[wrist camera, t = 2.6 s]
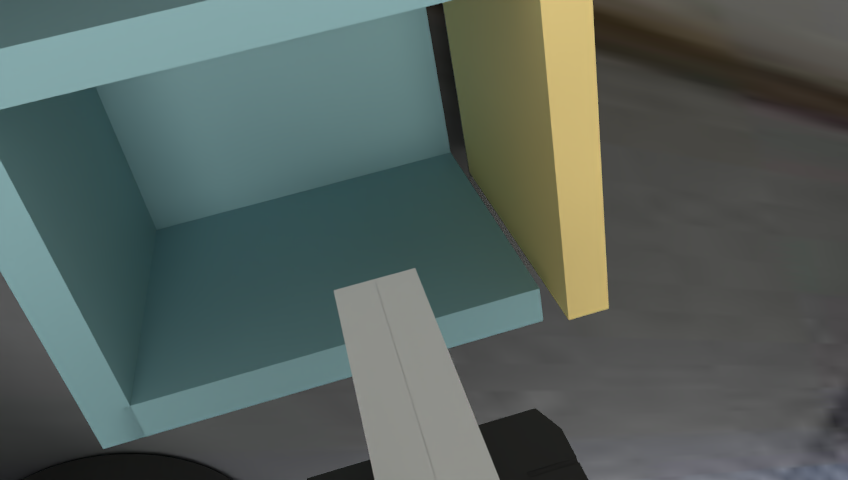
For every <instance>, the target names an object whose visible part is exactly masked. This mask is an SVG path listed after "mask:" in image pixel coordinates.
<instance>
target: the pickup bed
mask: <svg viewBox="0 0 848 480" xmlns="http://www.w3.org/2000/svg"><path fill="white" fill-rule="evenodd" d="M448 1H452V0H0V272H1V273H2V275H3V277H4V278H5V280H6V282H7V284H8V285H9V287H10V289H11V291H12V292H13V294H14V296H15V297H16V299H17V301H18V303H19V304H20V306H21V308H22V310H23V311H24V313H25V315H26V316H27V318H28V320H29V322H30V323H31V325H32V327H33V329H34V330H35V332H36V334H37V335H38V337H39V339H40V341H41V342H42V344H43V346H44V348H45V349H46V351H47V353H48V354H49V356H50V358H51V360H52V361H53V363H54V365H55V367H56V368H57V370H58V372H59V373H60V375H61V377H62V379H63V380H64V382H65V384H66V386H67V387H68V389H69V391H70V392H71V394H72V396H73V398H74V399H75V401H76V403H77V405H78V406H79V408H80V410H81V411H82V413H83V415H84V417H85V418H86V420H87V422H88V424H89V425H90V427H91V429H92V430H93V432H94V434H95V436H96V437H97V439H98V441H99V443H100V444H101V446H102V448H103V449H106V448H109V447H112V446H116V445H119V444H123V443H126V442H130V441H133V440H136V439H140V438H143V437H147V436H150V435H154V434H157V433H160V432H164V431H167V430H171V429H174V428H177V427H181V426H184V425H188V424H191V423H195V422H198V421H201V420H205V419H208V418H212V417H215V416H219V415H222V414H225V413H229V412H232V411H236V410H239V409H243V408H246V407H249V406H253V405H256V404H260V403H263V402H267V401H270V400H273V399H277V398H280V397H284V396H287V395H290V394H294V393H297V392H301V391H304V390H308V389H311V388H314V387H318V386H321V385H325V384H328V383H332V382H335V381H338V380H342V379H345V378H349V377H352V373H351V369H350V364H349V359H348V355H347V350H346V345H345V341H344V336H343V332H342V327H341V322H340V318H339V313H338V309H337V304H336V299H335V295H334V290H337V289H340V288H344V287H348V286H351V285H355V284H359V283H362V282H366V281H369V280H373V279H377V278H380V277H384V276H388V275H391V274H395V273H399V272H402V271H406V270H410V269H413V268H415V269H416V271H417V274H418V276H419V279H420V281H421V284H422V286H423V289H424V291H425V294H426V296H427V299H428V301H429V304H430V306H431V309H432V311H433V314H434V316H435V319H436V321H437V324H438V326H439V329H440V331H441V334H442V336H443V339H444V341H445V344H446V346H447V349H448V348H451V347H455V346H458V345H462V344H465V343H469V342H472V341H475V340H479V339H482V338H486V337H489V336H492V335H496V334H499V333H503V332H506V331H510V330H513V329H516V328H520V327H523V326H527V325H530V324H534V323H537V322H540V321H543V315H542V306H541V297H540V288H539V287H538V285H537V284H536V282H535V281H534V279H533V278H532V276H531V275H530V273H529V272H528V270H527V269H526V267H525V265H524V264H523V262H522V261H521V259H520V258H519V256H518V255H517V253H516V252H515V250H514V249H513V247H512V246H511V244H510V243H509V241H508V239H507V238H506V236H505V235H504V233H503V232H502V230H501V229H500V227H499V226H498V224H497V223H496V221H495V220H494V218H493V217H492V215H491V214H490V212H489V210H488V209H487V207H486V206H485V204H484V203H483V201H482V200H481V198H480V197H479V195H478V194H477V192H476V191H475V189H474V188H473V186H472V184H471V183H470V181H469V180H468V178H467V177H466V175H465V174H464V172H463V171H462V169H461V168H460V166H459V165H458V163H457V162H456V160H455V159H454V157H453V155H452V154H451V152H450V146H449V141H448V135H447V129H446V123H445V117H444V111H443V105H442V100H441V94H440V88H439V82H438V76H437V70H436V64H435V58H434V53H433V47H432V41H431V35H430V29H429V23H428V17H427V12H426V7H427V6H431V5H435V4H439V3H444V2H448Z"/></svg>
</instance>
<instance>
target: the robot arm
mask: <svg viewBox="0 0 848 480" xmlns="http://www.w3.org/2000/svg"><path fill="white" fill-rule="evenodd" d="M334 295H335V299H336V304H337V309H338V313H339V318H340V322H341V327H342V332H343V336H344V341H345V345H346V350H347V355H348V359H349V364H350V369H351V373H352V378H353V382H354V387H355V392H356V396H357V401H358V405H359V410H360V415H361V419H362V424H363V429H364V433H365V438H366V442H367V447H368V452H369V456H370V460H368V461H364V462H361V463H358V464H354V465H351V466H347V467H344V468H341V469H337V470H334V471H331V472H327V473H324V474H321V475H317V476H314V477H311V478H307V480H588V478H587V476H586V475H585V473H584V471H583V469H582V467H581V465H580V463H578V461H577V459H576V456H575V454H574V452H573V450H572V448H571V446H570V444H569V442H568V441H567V439H566V437H565V435H564V433H563V431H562V429H561V428H560V427H558V426H557V425H556V424H555V423H553V422H552V421H551V420H550V419H548V418H547V417H546V416H544V415H543V414H542V413H541V412H539V411H538V410H537V409H536V408H535V409H532V410H528V411H525V412H522V413H518V414H515V415H511V416H508V417H505V418H501V419H498V420H495V421H491V422H488V423H485V424H481V425H478V424H477V421H476V419H475V416H474V414H473V411H472V409H471V406H470V404H469V401H468V399H467V396H466V394H465V391H464V389H463V386H462V384H461V381H460V379H459V376H458V374H457V371H456V369H455V366H454V364H453V361H452V359H451V356H450V354H449V351H448V349H447V346H446V344H445V341H444V339H443V336H442V334H441V331H440V329H439V326H438V324H437V321H436V319H435V316H434V314H433V311H432V309H431V306H430V304H429V301H428V299H427V296H426V294H425V291H424V289H423V286H422V284H421V281H420V279H419V276H418V274H417V271H416V269H415V268H413V269H410V270H406V271H402V272H399V273H395V274H391V275H388V276H384V277H380V278H377V279H373V280H369V281H366V282H362V283H359V284H355V285H351V286H348V287H344V288H340V289H337V290H334ZM23 480H230V479H229V478H227V477H225V476H224V475H222V474H220V473H218V472H216V471H214V470H211V469H209V468H207V467H204V466H201V465H198V464H195V463H192V462H188V461H185V460H180V459H176V458H170V457H164V456H156V455H144V454H117V455H105V456H96V457H90V458H84V459H79V460H75V461H71V462H67V463H63V464H60V465H57V466H54V467H50V468H48V469H45V470H43V471H40V472H38V473H35V474H33V475H31V476H29V477H27V478H25V479H23Z"/></svg>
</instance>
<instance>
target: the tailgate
mask: <svg viewBox="0 0 848 480" xmlns="http://www.w3.org/2000/svg"><path fill="white" fill-rule="evenodd" d="M442 4H443V11H444V17H445V23H446V30H447V36H448V42H449V49H450V55H451V61H452V67H453V74H454V80H455V86H456V93H457V99H458V105H459V112H460V118H461V124H462V131H463V137H464V143H465V150H466V156H467V162H468V168H469V175H470V176H471V177H473V178H474V180H475V181H476V183H477V184H478V186H479V187H480V189H481V190H482V192H483V193H484V195H485V196H486V198H487V199H488V201H489V202H490V204H491V205H492V207H493V208H494V209H495V211H496V212H497V214H498V215H499V217H500V218H501V220H502V221H503V223H504V224H505V226H506V227H507V229H508V230H509V232H510V233H511V235H512V236H513V238H514V239H515V241H516V242H517V244H518V245H519V247H520V248H521V250H522V251H523V253H524V254H525V256H526V257H527V259H528V260H529V262H530V263H531V265H532V266H533V268H534V269H535V271H536V272H537V274H538V275H539V277H540V278H541V280H542V281H543V283H544V284H545V286H546V287H547V289H548V290H549V292H550V293H551V294H552V296H553V297H554V299H555V300H556V302H557V303H558V305H559V306H560V308H561V309H562V311H563V312H564V314H565V315H566V317H567V318H568V320H571V319H575V318H578V317H581V316H585V315H588V314H592V313H595V312H598V311H602V310H605V309H609V304H608V285H607V266H606V247H605V228H604V209H603V190H602V171H601V152H600V133H599V114H598V95H597V76H596V57H595V38H594V19H593V0H452V1H448V2H444V3H442Z"/></svg>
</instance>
